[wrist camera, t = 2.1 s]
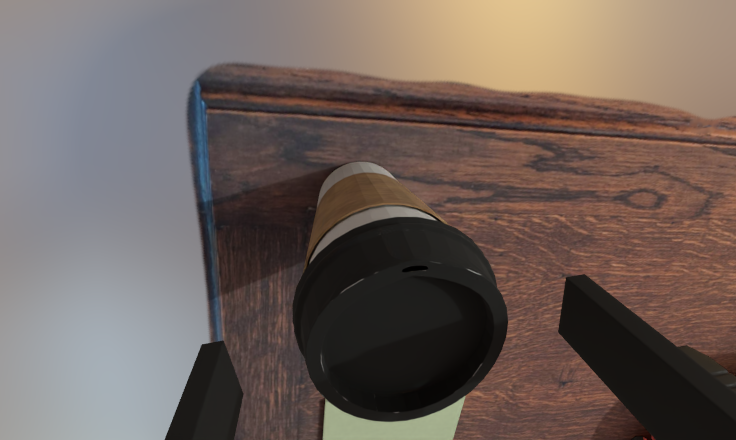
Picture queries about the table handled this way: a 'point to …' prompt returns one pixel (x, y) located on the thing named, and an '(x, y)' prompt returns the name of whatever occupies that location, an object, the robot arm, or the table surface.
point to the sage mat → (391, 426)
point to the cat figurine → (642, 438)
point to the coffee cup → (393, 301)
